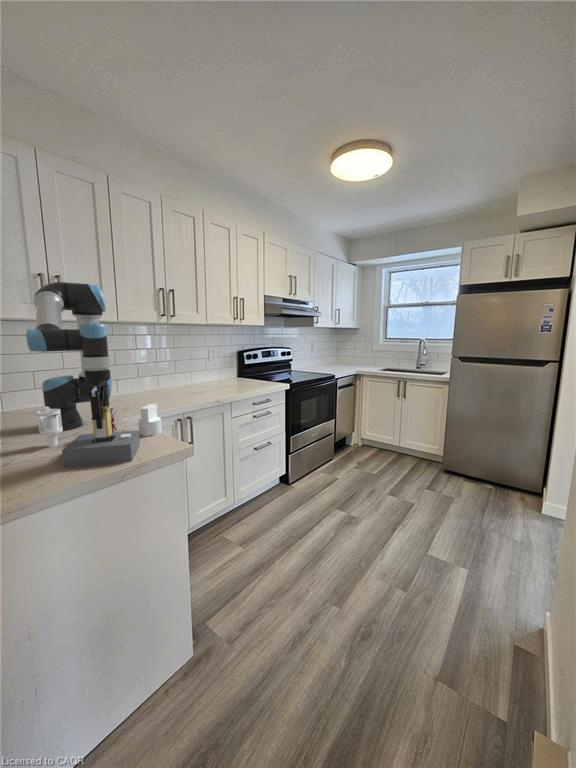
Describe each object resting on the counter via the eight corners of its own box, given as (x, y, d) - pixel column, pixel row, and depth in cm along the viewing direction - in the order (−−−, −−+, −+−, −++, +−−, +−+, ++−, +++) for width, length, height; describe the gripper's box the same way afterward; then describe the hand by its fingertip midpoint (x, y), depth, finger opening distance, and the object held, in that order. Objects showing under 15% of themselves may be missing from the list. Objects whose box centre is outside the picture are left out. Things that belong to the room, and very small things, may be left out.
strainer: (61, 441, 125) (56, 405, 122) (66, 445, 120) (62, 407, 118) (39, 446, 120) (34, 408, 117) (44, 450, 115) (39, 411, 113)
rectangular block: (98, 434, 111) (95, 406, 110) (112, 433, 113) (109, 406, 111) (94, 438, 107) (91, 410, 105) (108, 437, 108) (106, 409, 107)
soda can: (100, 436, 131) (97, 408, 130) (118, 434, 134) (116, 407, 132) (98, 441, 125) (95, 412, 123) (116, 438, 128) (114, 410, 126)
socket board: (81, 450, 116) (79, 432, 115) (139, 444, 121) (138, 428, 120) (64, 467, 101) (61, 447, 100) (131, 460, 106) (130, 441, 105)
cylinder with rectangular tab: (145, 429, 141) (143, 403, 139) (165, 429, 140) (163, 403, 138) (135, 435, 132) (133, 408, 130) (156, 436, 131) (154, 408, 130)
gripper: (92, 366, 113) (98, 428, 117) (75, 372, 97) (82, 444, 100) (115, 366, 115) (120, 426, 119) (102, 372, 99) (108, 442, 102)
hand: (103, 434), depth 110 cm, fingers closed on rectangular block, 4 cm apart
